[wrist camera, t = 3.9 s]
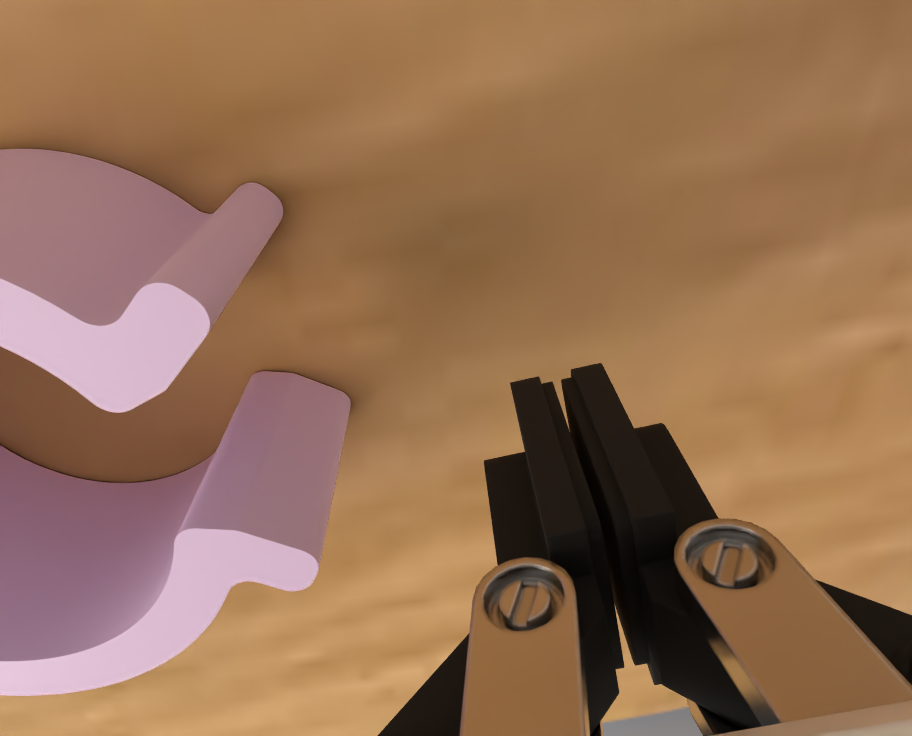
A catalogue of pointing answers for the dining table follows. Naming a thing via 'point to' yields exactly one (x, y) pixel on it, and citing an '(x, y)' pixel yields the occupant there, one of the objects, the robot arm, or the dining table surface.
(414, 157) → the dining table surface
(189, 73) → the dining table surface
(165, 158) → the dining table surface
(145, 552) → the clip
